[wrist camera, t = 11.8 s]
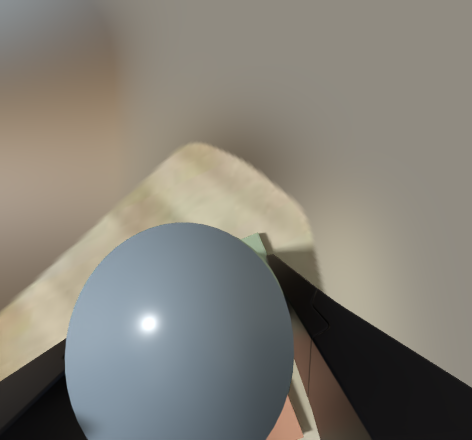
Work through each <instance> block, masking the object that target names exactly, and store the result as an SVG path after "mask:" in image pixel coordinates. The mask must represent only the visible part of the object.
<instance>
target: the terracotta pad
mask: <svg viewBox="0 0 472 440" xmlns="http://www.w3.org/2000/svg"><path fill="white" fill-rule="evenodd" d="M302 437H304V436H303V433H302V429H301V427H300V424H299V422H298V419H297V416H296V414H295V411H294V409H293V406H292V404H291V401H290V398H289V396H288V395H287V398H286V401H285V404H284V407H283V410H282V412H281V414H280V416H279V418H278V420H277V422H276V424H275V426H274V428H273V429H272V431H271V432H270V434H269V435H268V437H267V438H266V440H297V439H300V438H302Z"/></svg>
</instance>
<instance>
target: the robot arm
mask: <svg viewBox="0 0 472 440" xmlns="http://www.w3.org/2000/svg"><path fill="white" fill-rule="evenodd" d="M266 263H267V264H268V265H269V267H270V268H271V270H272V271H273V273H274V275H275V276H276V278H277V280H278V282H279V285H280V287H281V289H282V292H283V295H284V298H285V301H286V304H287V307H288V311H289V314H290V318H291V324H292V330H293V339H294V359H295V362H296V365H297V368H298V371H299V374H300V377H301V379H302V382H303V385H304V388H305V391H306V394H307V397H308V400H309V402H310V405H311V409H312V412H313V415H314V418H315V422H316V425H317V429H318V433H319V436H320V440H472V388H471V387H470V386H468V385H467V384H465V383H464V382H462V381H460V380H459V379H457V378H456V377H454V376H452V375H451V374H449V373H448V372H446V371H444V370H443V369H441V368H440V367H438V366H437V365H435V364H433V363H432V362H430V361H429V360H427V359H425V358H424V357H422V356H421V355H419V354H417V353H416V352H414V351H413V350H411V349H409V348H408V347H406V346H405V345H403V344H401V343H400V342H398V341H397V340H395V339H394V338H392V337H390V336H389V335H387V334H386V333H384V332H382V331H381V330H379V329H378V328H376V327H374V326H373V325H371V324H370V323H368V322H367V321H365V320H363V319H362V318H360V317H359V316H357V315H355V314H354V313H352V312H351V311H349V310H348V309H346V308H344V307H343V306H341V305H340V304H338V303H337V302H335V301H334V300H333V299H331V298H330V297H328V296H327V295H326V294H324V293H323V292H322V291H321V290H319V289H317V288H316V287H315V286H314V285H312V284H311V283H310V282H309V281H307V280H306V279H305V278H303V277H302V276H301V275H300V274H298V273H297V272H296V271H294V270H293V269H292V268H290V267H289V266H288V265H287V264H285V263H284V262H283V261H281V260H280V259H279V258H278V257H276V256H275V255H274V254H270V255H266ZM65 348H66V339H64V340H63V341H61V342H60V343H58V344H57V345H55V346H54V347H52V348H51V349H49V350H47V351H46V352H44V353H43V354H41V355H40V356H38V357H37V358H35V359H34V360H32V361H31V362H29V363H28V364H26V365H25V366H23V367H22V368H20V369H19V370H17V371H16V372H14V373H13V374H11V375H9V376H8V377H6V378H5V379H3V380H2V381H0V440H88V439H87V437H86V436H85V434H84V432H83V430H82V428H81V427H80V425H79V423H78V421H77V418H76V416H75V413H74V410H73V408H72V405H71V401H70V397H69V393H68V389H67V382H66V374H65Z"/></svg>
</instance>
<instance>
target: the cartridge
mask: <svg viewBox="0 0 472 440" xmlns="http://www.w3.org/2000/svg"><path fill="white" fill-rule="evenodd" d="M293 362H294V339H293V330H292V324H291V318H290V314H289V311H288V307H287V304H286V301H285V298H284V295H283V292H282V289H281V287H280V285H279V282H278V280H277V278H276V276H275V275H274V273H273V271H272V270H271V268H270V267H269V265H268V264H267V263H266V261H265V260H264V259H263V258H262V257H261V256H260V255H259V254H258V253H257V252H256V251H255V250H254V249H253V248H252V247H250V246H249V245H248V244H246V243H245V242H243V241H242V240H240V239H238V238H237V237H235V236H232V235H230V234H229V233H227V232H224V231H222V230H220V229H217V228H214V227H211V226H207V225H203V224H196V223H171V224H164V225H160V226H156V227H152V228H149V229H147V230H145V231H142V232H140V233H138V234H136V235H134V236H132V237H131V238H129V239H127V240H126V241H124V242H123V243H121V244H120V245H119V246H117V247H116V248H115V249H114V250H113V251H112V252H110V253H109V254H108V255H107V256H106V257H105V258H104V259H103V260H102V262H101V263H100V264H99V265H98V266H97V267H96V269H95V270H94V271H93V273H92V274H91V276H90V277H89V279H88V280H87V282H86V284H85V285H84V287H83V289H82V291H81V293H80V295H79V297H78V300H77V302H76V304H75V307H74V310H73V313H72V316H71V319H70V323H69V328H68V333H67V338H66V348H65V374H66V382H67V389H68V393H69V397H70V401H71V405H72V408H73V410H74V413H75V416H76V418H77V421H78V423H79V425H80V427H81V428H82V430H83V432H84V434H85V436H86V437H87V439H88V440H266V438H267V437H268V435H269V434H270V432H271V431H272V429H273V428H274V426H275V424H276V422H277V420H278V418H279V416H280V414H281V412H282V410H283V407H284V404H285V401H286V398H287V395H288V392H289V388H290V383H291V378H292V373H293Z"/></svg>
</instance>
